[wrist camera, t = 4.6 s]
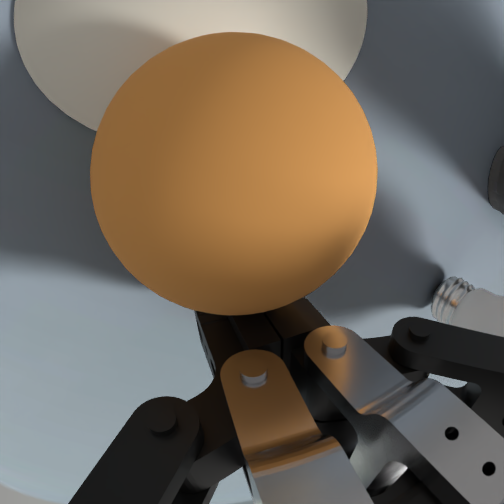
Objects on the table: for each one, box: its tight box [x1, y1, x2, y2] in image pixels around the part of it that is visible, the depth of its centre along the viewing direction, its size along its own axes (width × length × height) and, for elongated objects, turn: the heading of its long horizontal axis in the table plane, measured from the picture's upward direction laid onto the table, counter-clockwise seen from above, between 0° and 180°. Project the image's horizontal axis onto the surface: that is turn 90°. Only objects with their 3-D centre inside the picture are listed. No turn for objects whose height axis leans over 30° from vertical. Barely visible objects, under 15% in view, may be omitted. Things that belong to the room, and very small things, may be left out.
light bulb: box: [431, 276, 504, 337], centre depth 12 cm, size 7×7×11 cm
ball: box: [90, 32, 378, 315], centre depth 7 cm, size 6×6×6 cm
